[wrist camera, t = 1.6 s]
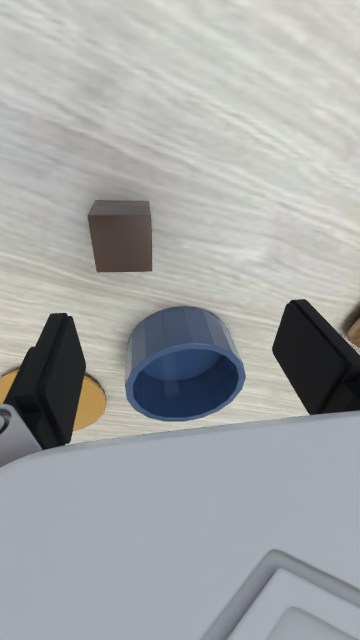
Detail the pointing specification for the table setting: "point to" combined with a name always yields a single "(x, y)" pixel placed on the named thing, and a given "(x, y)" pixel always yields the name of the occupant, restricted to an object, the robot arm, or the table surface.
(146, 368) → the bowl
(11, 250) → the table surface
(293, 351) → the robot arm
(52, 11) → the table surface
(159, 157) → the table surface
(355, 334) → the stone cup
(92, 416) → the cover
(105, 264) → the block
